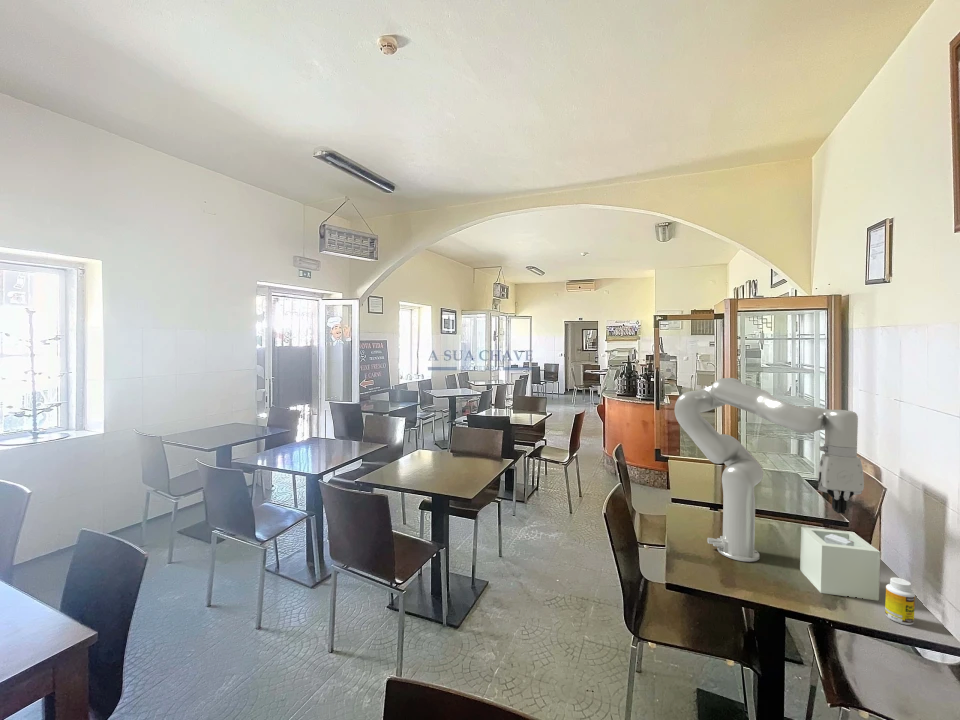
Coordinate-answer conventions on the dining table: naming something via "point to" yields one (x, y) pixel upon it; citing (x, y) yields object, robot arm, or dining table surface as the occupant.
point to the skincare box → (838, 540)
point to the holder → (840, 564)
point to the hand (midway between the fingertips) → (838, 511)
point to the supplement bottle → (900, 601)
